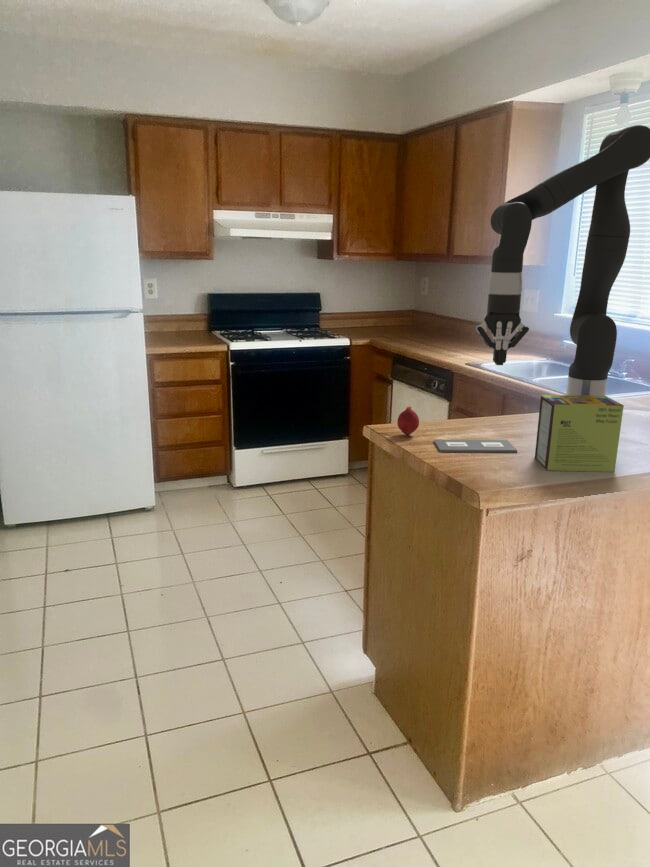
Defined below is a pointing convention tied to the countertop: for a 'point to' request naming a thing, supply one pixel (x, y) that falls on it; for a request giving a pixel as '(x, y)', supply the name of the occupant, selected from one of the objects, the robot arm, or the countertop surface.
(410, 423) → the onion
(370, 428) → the countertop surface
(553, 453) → the protein box
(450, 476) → the countertop surface
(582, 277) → the robot arm
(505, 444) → the label panel
